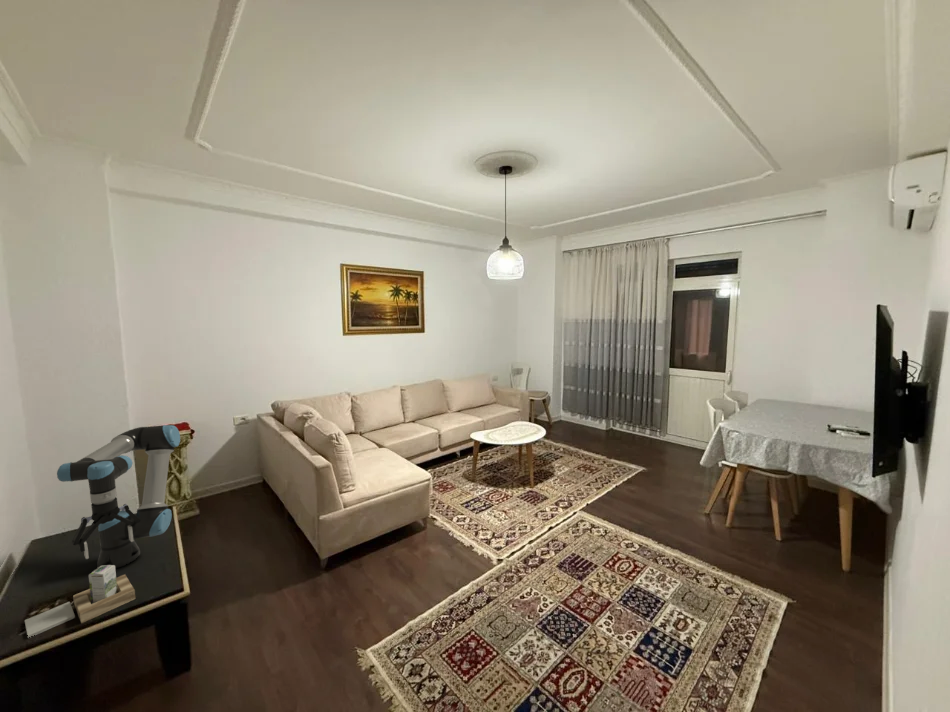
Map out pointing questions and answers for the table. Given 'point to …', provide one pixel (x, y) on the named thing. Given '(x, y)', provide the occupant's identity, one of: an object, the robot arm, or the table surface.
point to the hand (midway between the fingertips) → (109, 548)
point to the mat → (49, 619)
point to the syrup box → (102, 583)
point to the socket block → (103, 600)
